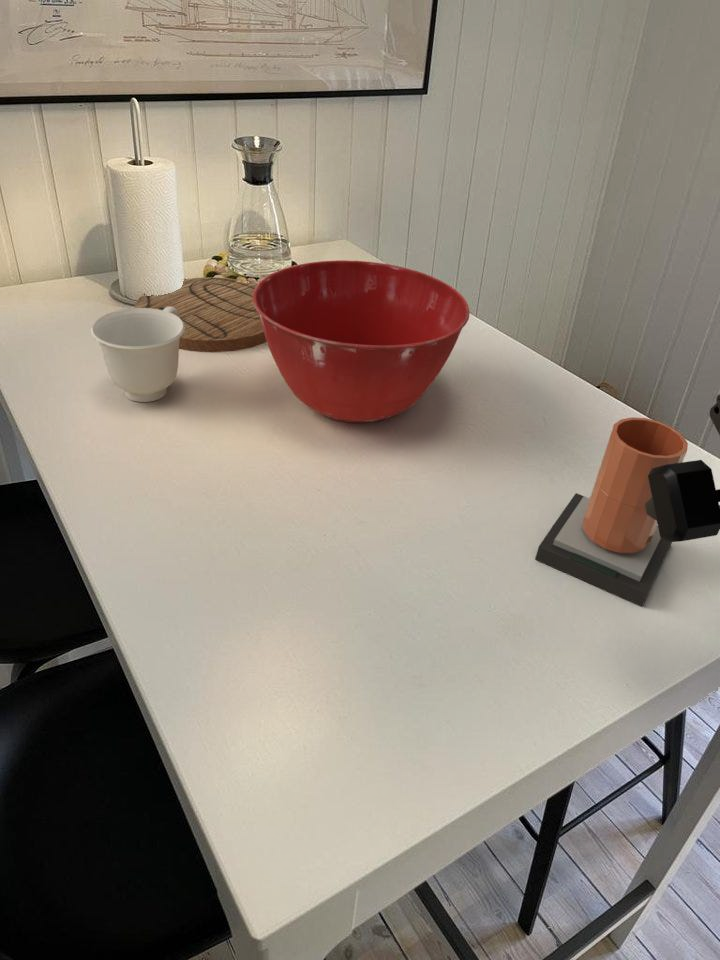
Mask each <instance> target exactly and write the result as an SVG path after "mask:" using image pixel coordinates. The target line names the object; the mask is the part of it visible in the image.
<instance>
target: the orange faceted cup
mask: <svg viewBox="0 0 720 960" xmlns="http://www.w3.org/2000/svg"><path fill="white" fill-rule="evenodd" d="M688 445H689V443H688V441H687V440H686V438H685V436H684V435H683V434H682V433H681V432H679V431H678V430H677V429H676V428H674V427H673V426H670V425H668V424H667V423H664V422H662V421H659V420H655V419H651V418H647V417H634V416H633V417H626V418H621V419H619V420H618V421H617V422H615V423H614V424H613V425H612V428H611V431H610V435H609V437H608V441H607V444H606V446H605V451H604V453H603V455H602V459H601V463H600V466H599V469H598V472H597V476H596V478H595V481H594V484H593V488H592V490H591V493H590V497H589V498H590V500H589V503H588V506H587V509H586V512H585V515H584V518H583V522H582V526H583V529H584V532H585V534H586V535H587V536H588V537H589V538H590V539H591V540H592V541H593V542H595V543H596V544H597V545H599V546H600V547H602V548H604V549H607V550H609V551H613V552H617V553H635V552H639V551H642V550H644V549H645V548H646V547H647V546H648V545H649V544H650V542H651V539H652V537H653V534H654V532H655V529H656V527H657V525H658V524H657V521H656V520H655V519H653V518H652V517H650V516H649V515H647V513H646V508H645V503H646V502H647V501H648V500H649V499H651V498H652V494H651V489H650V484H649V479H648V475H649V473H650V471H651V469H652V468H655V467H659V466H663V465H667V464H674V463H681V462H684V460H685V457H686V455H687V452H688V448H689V447H688Z"/></svg>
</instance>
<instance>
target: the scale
mask: <svg viewBox="0 0 720 960" xmlns="http://www.w3.org/2000/svg"><path fill="white" fill-rule="evenodd" d="M589 500H590V497H587V496H585V495H582V494H579V493H577V492H575V493H574V495H573V497H572V498H571V499H570V500H569V502H568V503H567V505H566V507H565V508H564V509H563V511H562V512H561V514H560V515H559V516H558V518H557V520H556V521H555V522H554V524H552V527H551V528H550V529H549V530H548V532H547V533H546V535H545V537H544V538H543V540H542V541H541V542H540V544H539V545H538V548H537V551H536V554H535V557H534V559H535V561H537V562H540V563H542V564H545V565H547V566H549V567H551V568H554V569H556V570H557V571H561V572H563V573H565V574H567V575H569V576H572V577H574V578H576V579H578V580H581V581H583V582H585V583H587V584H589V585H592V586H594V587H597V588H599V589H601V590H603V591H606V592H608V593H610V594H612V595H614V596H617V597H619V598H621V599H624V600H626V601H628V602H630V603H632V604H635V605H637V606H640V607H641V608H642V607H643V606H644V605H645V602H646V600H647V597H648V595H649V593H650V592H651V589H652V587H653V585H654V582H655V580H656V579H657V576H658V575H659V572H660V570H661V568H662V566H663V564H664V562H665V560H666V557H667V555H668V553H669V551H670V550H671V549H670V548H671V547H672V544H673V542H670V543H667V542H666V541H664V540H663V539H662V538H661V537H660V534H659V529H658V524H657V527H656V529H655V532H654V534H653V537H652V539H651V542H650V544H649V545H648V546H647V547H646V548H645V549H644V550H642V551H639V552H635V553H617V552H613V551H609V550H607V549H604V548H602V547H600V546H599V545H597V544H596V543H595V542H593V541H592V540H591V539H590V538H589V537H588V536H587V535H586V534H585V532H584V529H583V526H582V522H583V518H584V515H585V512H586V509H587V506H588V503H589Z"/></svg>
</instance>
